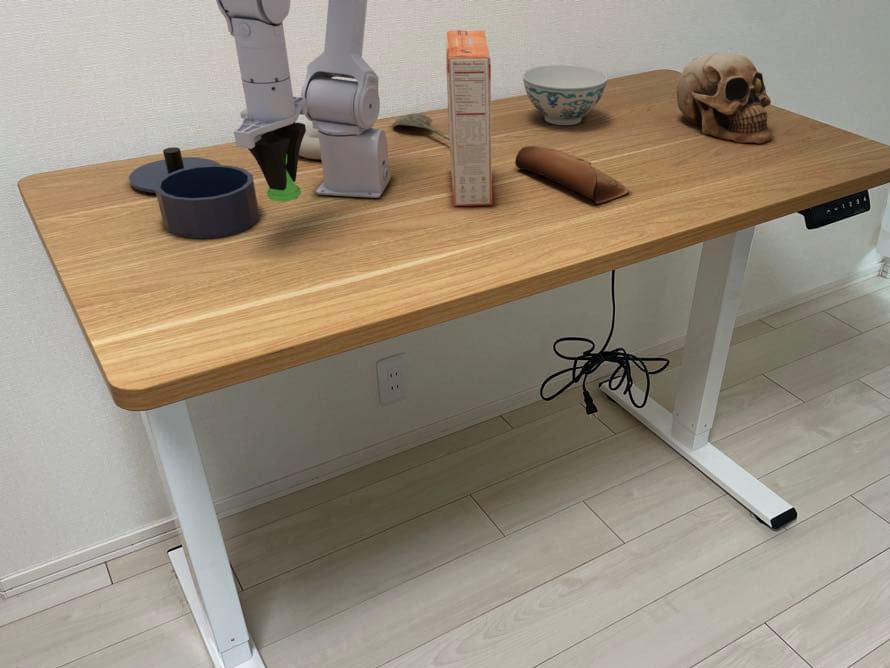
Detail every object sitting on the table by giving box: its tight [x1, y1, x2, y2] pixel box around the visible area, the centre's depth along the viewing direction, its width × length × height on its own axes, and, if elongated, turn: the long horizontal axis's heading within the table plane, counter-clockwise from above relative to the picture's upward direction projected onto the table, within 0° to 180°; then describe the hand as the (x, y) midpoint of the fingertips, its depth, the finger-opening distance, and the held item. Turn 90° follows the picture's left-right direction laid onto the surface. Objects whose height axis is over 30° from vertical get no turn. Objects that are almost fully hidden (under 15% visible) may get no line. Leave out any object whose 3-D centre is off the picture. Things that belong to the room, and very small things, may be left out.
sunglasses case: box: [514, 145, 630, 205], centre depth 129 cm, size 18×7×7 cm
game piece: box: [266, 154, 302, 203], centre depth 109 cm, size 4×4×6 cm
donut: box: [299, 124, 322, 161], centre depth 137 cm, size 10×4×10 cm
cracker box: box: [445, 29, 493, 207], centre depth 121 cm, size 14×6×21 cm, turn 5°
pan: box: [155, 164, 260, 240], centre depth 115 cm, size 12×12×5 cm
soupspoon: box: [392, 113, 450, 141], centre depth 143 cm, size 22×3×7 cm
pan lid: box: [128, 146, 222, 194], centre depth 126 cm, size 13×13×5 cm
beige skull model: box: [676, 52, 772, 144], centre depth 150 cm, size 16×17×13 cm
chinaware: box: [522, 64, 608, 126], centre depth 152 cm, size 15×15×8 cm
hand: (282, 184), depth 110 cm, fingers closed on game piece, 2 cm apart
